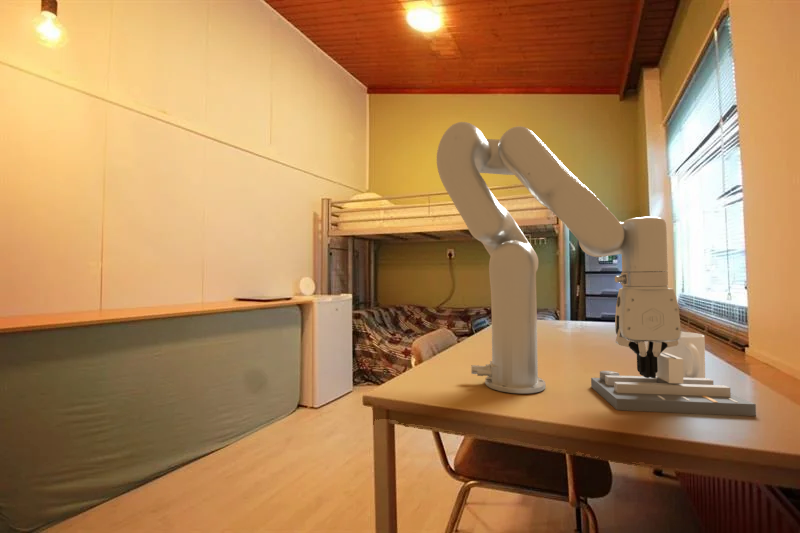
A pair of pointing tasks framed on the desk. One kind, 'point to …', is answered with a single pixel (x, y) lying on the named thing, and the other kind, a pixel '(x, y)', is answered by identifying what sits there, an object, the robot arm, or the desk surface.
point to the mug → (690, 354)
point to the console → (670, 395)
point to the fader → (669, 369)
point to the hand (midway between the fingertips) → (647, 375)
